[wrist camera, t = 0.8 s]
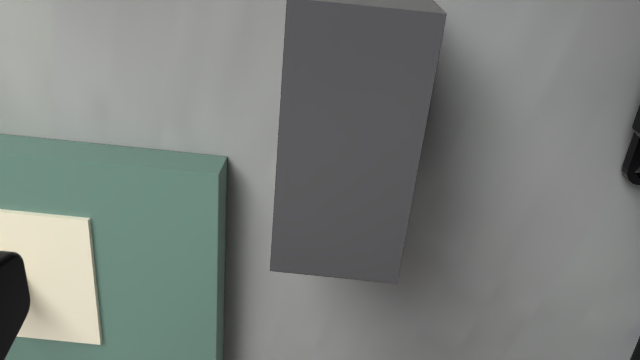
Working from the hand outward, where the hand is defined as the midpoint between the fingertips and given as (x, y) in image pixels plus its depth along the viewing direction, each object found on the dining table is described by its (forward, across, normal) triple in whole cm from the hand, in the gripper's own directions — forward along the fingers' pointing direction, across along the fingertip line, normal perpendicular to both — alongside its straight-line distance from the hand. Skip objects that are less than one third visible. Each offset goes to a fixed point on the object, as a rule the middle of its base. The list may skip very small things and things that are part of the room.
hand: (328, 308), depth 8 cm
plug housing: (+12, 0, 0) cm, 12 cm away
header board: (+12, +13, +8) cm, 19 cm away
